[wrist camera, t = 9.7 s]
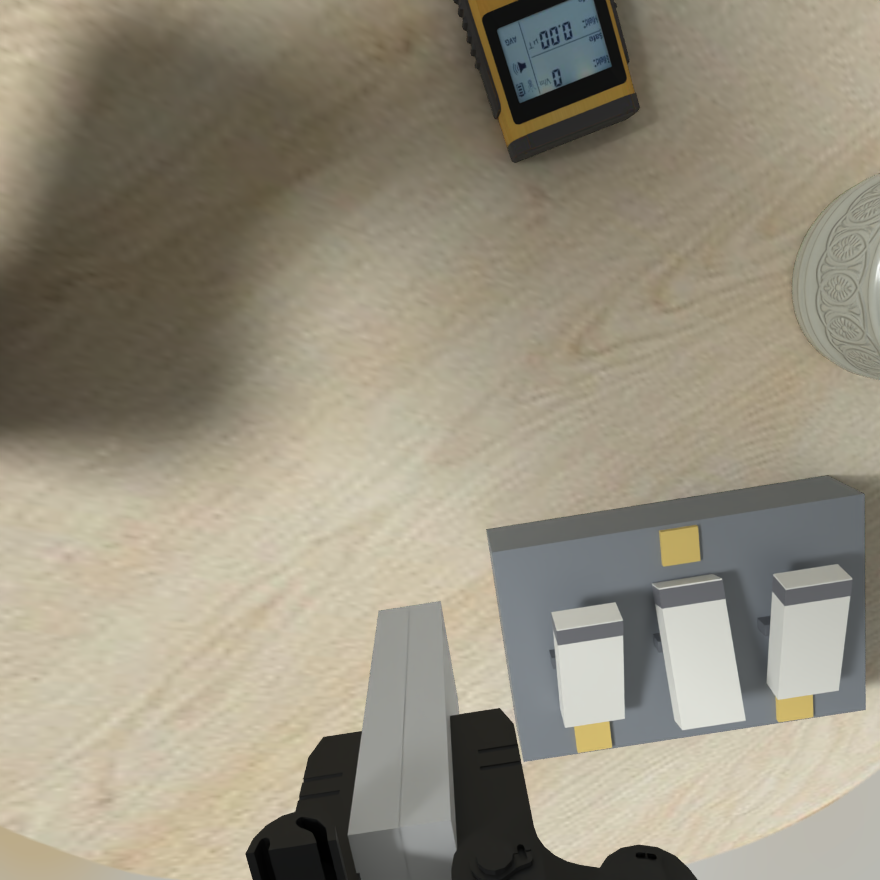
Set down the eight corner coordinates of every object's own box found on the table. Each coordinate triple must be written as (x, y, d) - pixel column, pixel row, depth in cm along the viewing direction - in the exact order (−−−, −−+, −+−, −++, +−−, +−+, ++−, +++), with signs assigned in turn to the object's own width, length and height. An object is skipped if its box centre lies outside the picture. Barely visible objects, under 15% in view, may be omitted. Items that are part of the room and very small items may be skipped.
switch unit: (516, 724, 51) (525, 772, 46) (486, 529, 47) (493, 559, 42) (831, 676, 50) (874, 719, 45) (827, 475, 46) (874, 498, 41)
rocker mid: (674, 720, 43) (682, 730, 42) (651, 583, 43) (658, 588, 42) (735, 711, 43) (746, 720, 42) (712, 573, 43) (722, 578, 42)
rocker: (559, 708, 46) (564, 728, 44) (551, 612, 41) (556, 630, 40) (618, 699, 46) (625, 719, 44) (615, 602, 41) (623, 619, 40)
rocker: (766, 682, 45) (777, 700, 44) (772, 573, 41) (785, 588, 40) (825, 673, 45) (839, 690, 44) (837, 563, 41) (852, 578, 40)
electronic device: (554, -166, 37) (567, -210, 34) (633, 118, 41) (651, 103, 38) (414, -108, 38) (414, -145, 35) (504, 168, 41) (511, 158, 38)
